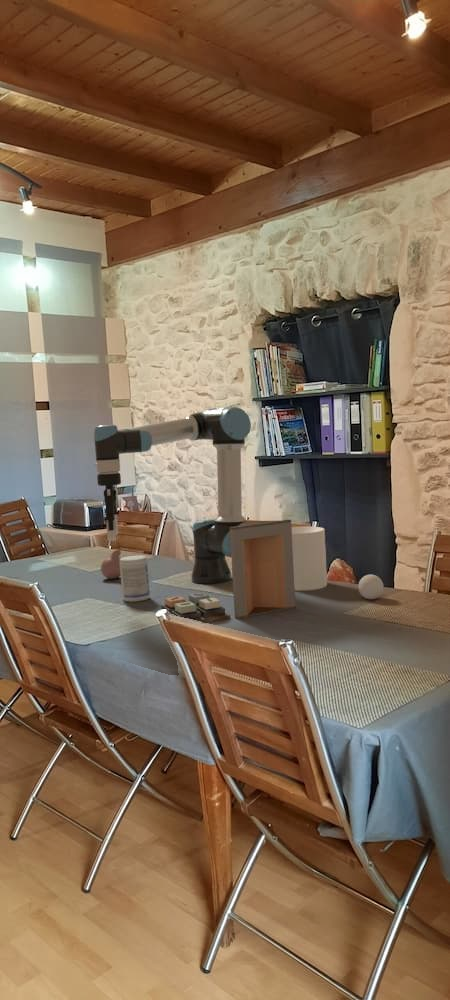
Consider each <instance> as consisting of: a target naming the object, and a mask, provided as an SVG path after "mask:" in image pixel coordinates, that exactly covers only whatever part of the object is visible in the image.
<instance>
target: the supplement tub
mask: <svg viewBox="0 0 450 1000" xmlns="http://www.w3.org/2000/svg"><path fill="white" fill-rule="evenodd" d="M120 575H121V576H120V584H121V595H122V596H121V597H122V600H123V601H125V602H129V603H135V602H136V603H137V602H143V601H145V600H148V599H150V597H151V595H150V581H149V579H150V578H149V567H148V559H147V556H146V555H129V556H124V557H121V558H120Z"/></svg>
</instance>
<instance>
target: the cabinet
mask: <svg viewBox="0 0 450 1000" xmlns="http://www.w3.org/2000/svg"><path fill="white" fill-rule="evenodd" d="M230 543H231V557H230V558H231V570H232V571H231V579H232V591H233V594H232V595H233V607H234V609H233V610H234V619H236V620H240V619H245V618H250V617H255V616H262V615H267V614H271V613H277V612H282V611H286V610H287V611H288V610H292V609H296V594H295V591H296V590H295V588H294V568H293V548H292V519H282V520H246V521H245V522H243V523H242V524H240V525H238V526H236V527H230Z"/></svg>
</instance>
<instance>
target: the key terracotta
mask: <svg viewBox="0 0 450 1000" xmlns="http://www.w3.org/2000/svg"><path fill="white" fill-rule="evenodd" d="M185 601H186V598H184V597H182V596H180V595H178V596H177V595H176V596H172V597H170V596H169V597H165V598H164V605H167V606H169V607H170V608H172V607H175V604H177V603H183V602H185Z"/></svg>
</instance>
